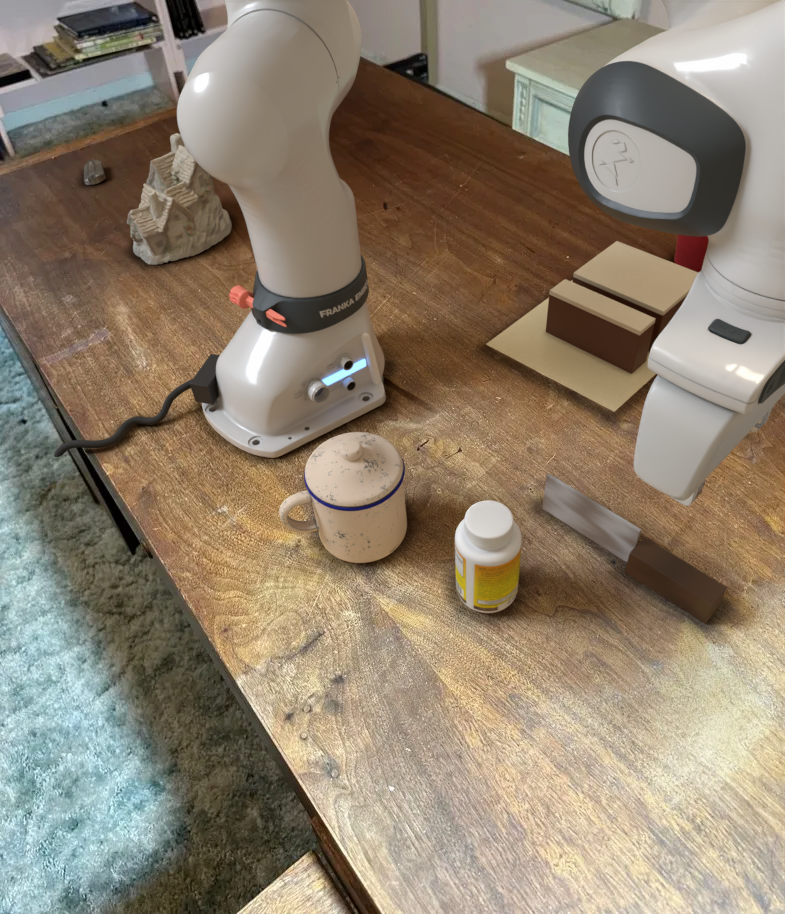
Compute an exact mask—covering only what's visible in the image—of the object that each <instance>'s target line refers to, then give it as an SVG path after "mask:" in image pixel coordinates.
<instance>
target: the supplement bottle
mask: <svg viewBox="0 0 785 914" xmlns="http://www.w3.org/2000/svg"><path fill="white" fill-rule="evenodd" d="M522 535H523V534H522V531H521V529H520V527H519V525H518V524H517V523H516V521H515V520H514V515H513V512H512V511H511V509H510V508H509V507H507V506H506V505H505V504H504V503H502V502H500V501H496V500H489V499H488V500H487V499H486V500H482V501H477V502H475V503H473V504H472V505H470V506H469V507H468V509H467V510H466V512H465V515H464V518H463V519H462V520H461V521H460V522H459V524H458V525H457V527H456V530H455V532H454V563H455V589H456V594H457V596H458V598H459V599H460V601H461V602H462V603H463V604H464V605H465V606H466V607H467V608H469V609H471V610H473V611H475V612H478V613H483V614H494V613H498V612H502V611H503V610H505V609H506V608H508V607H509V606H510V605H512V603H513V602H514V600H515V599H516V597H517V594H518V590H519V579H520V570H521V569H520V568H521V567H520V566H521V556H522V544H523V537H522Z"/></svg>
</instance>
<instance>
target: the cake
mask: <svg viewBox="0 0 785 914" xmlns="http://www.w3.org/2000/svg"><path fill="white" fill-rule="evenodd" d="M697 274H698V272H695V271H693V270H690V269H688V268H685V267H683V266H680V265H677V264H675V262H672V261H669V260H667V259H665V258H662V257H659V256H658V255H654V254H652V253H649V252H646V251H644V250H642V249H639V248H637V247H633V246H631V245H629V244H627V243H624V242H621V241H619V240H615V241H614V243H612V244H610V245H609V246H608V247H606V248H605V249H604V250H602V251H601V252H599V253H598V254H597V255H596V256H594V257H593V258H592V259H590V260H589V261H587V262H586V263H585V264H583V265H582V266H581V267H579V268H578V269H577V270H575V271H574V272H573V274H572V280H573V281H572V280H571V281H572V282H573V283H576V284H578V285H580V286H582V287H585V288H587V289H589V290H592V291H594V292H596V293H598V294H601V295H603V296H605V297H608V298H610V299H612V300H615V301H617V302H619V303H621V304H624V305H626V306H628V307H631V308H633V309H635V310H637V311H640V312H642V313H644V314H647V315H649V316H651V317H653V318H656V319H655V324H654V328H653V333H652V337H651V342H650V346H649V350H648V351H649V352H650V350H651V347H652V345H653V343H654V341H655V340H656V339H657V337H658V336H659V335H660V333H661V332H662V330H663V329H664V328H665V326H666V325H667V324H668V322H669V321H670V320H671V318H672V317H673V316H674V314H675V313H676V311H677V310H678V309H679V307H680V306H681V305H682V303H683V302H684V300H685V298H686V296H687V295H688V293H689V291H690V288H691V286H692V284H693V281H694V279H695V277H696V275H697Z"/></svg>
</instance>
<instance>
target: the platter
mask: <svg viewBox="0 0 785 914" xmlns="http://www.w3.org/2000/svg"><path fill="white" fill-rule="evenodd" d="M570 281H571V282H572V281H573V279H572V280H570ZM548 302H549V297H547V298H546V299H545V300H543V301H542V302H540V303H539V304H538V305H536V306H535V307H534V308H533V309H531V310H530V311H528V312H527V313H526V314H524V315H523V316H521V317H520V318H519V319H518V320H516V321H515V322H513V323H512V324H511V325H509V326H508V327H506V328H505V329H504V330H502V331H501V332H500V333H499V334H497V335H496V336H495V337H493V338H492V339H491V340H489V341H488V342H487V343H485V345H486V346H487V347H490V348H492V349H493V350H495V351H497V352H499V353H501V354H503V355H505V356H506V357H509V358H510V359H512V360H514V361H517V362H518V363H520V364H521V365H524V366H526V367H527V368H529V369H532V370H533V371H535V372H537V373H539V374H541V375H543V376H545V377H547V378H549V379H550V380H553V381H555V382H557V383H558V384H560V385H561V386H564V387H566V388H568V389H570V390H571V391H574V392H575V393H577V394H579V395H580V396H583V397H585V398H586V399H589V400H590V401H593V402H595V404H598V405H600V406H602V407H604V408H606V409H607V410H609V411H612V412H613V413H615V412H616V411H618V410H619V408H621V406H623V405H624V404H625V403H626V402H627V401H628V400H630V398H632V397H633V396H634V395H635V394H636V393H637V392H638V391H639V390H640V389H642V388H643V387H644V386H645V385H646V384H647V383H648V382H649V381H650V380H651V379H653V378H654V377H655V375H657V374H656V373H654V372H653V371H651V370H649V369H648V358H649V354H650V352H649V351H648V355H647V359H646V362H644V363H643V364H642V365H641V366H640V367H639V368H638V369H637V370H635V371H634V372H633V373H632V374H631V373H629V372H627V371H625V370H623V369H621V368H619V367H617V366H614V365H612V364H610V363H608V362H606V361H604V360H602V359H600V358H598V357H596V356H594V355H592V354H590V353H588V352H586V351H584V350H582V349H580V348H578V347H576V346H574V345H571V344H569V343H567V342H565V341H563V340H561V339H559V338H557V337H555V336H553V335H551V334H549V333H547V332H546V323H547V312H548Z"/></svg>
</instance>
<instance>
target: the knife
mask: <svg viewBox="0 0 785 914" xmlns="http://www.w3.org/2000/svg"><path fill="white" fill-rule="evenodd" d="M542 510H543V511H545V512H547V513H548V514H550V515H551V516H553V517H555V518H557V520H560V521H561V522H563V523H564V524H566V525H567V526H569V527H571V528H572V529H574V530H575V531H576V532H578V533H580V534H581V535H583V536H584V537H586V538H588V539H589V540H591V541H592V542H594V543H596V544H597V545H599V546H600V547H601V548H603V549H605V550H606V551H608V552H610V553H611V554H613V555H615V556H616V557H617V558H619V559H620V560H622V561H624V562H626V566H625V569H624V573H626V574H627V575H628V576H630V577H631V578H633V579H635V580H636V581H638V582H639V583H640V584H643V585H644V586H646V588H649V589H650V590H652V591H654V592H655V593H656V594H658V595H660V596H661V597H662V598H664V599H665V600H667V601H669V602H670V603H672V604H673V605H675V606H676V607H678V608H680V609H681V610H683V611H684V612H686V613H688V614H689V615H690V616H692V617H693V618H695V619H697V620H698V621H699V622H702V623H703V624H707V623H708V621H709V620H710V619H711V617H713V615H714V614H715V612H716V611H717V610H718V609H719V608H720V605H721V603H722V602H723V599H724V597H725V594H726V592H727V590H728V586H726V585H725V584H723V583H721V582H719V581H718V580H716V579H715V578H713V577H711V576H710V575H708V574H706V573H705V572H703V571H701V570H700V569H698V568H696V567H695V566H693V564H690V563H689V562H687V561H685V560H683V559H682V558H680V557H679V556H677V555H675V554H674V553H672V552H670V551H669V550H667V549H665V548H664V547H662V546H661V545H659V544H657V543H656V542H654V541H652V540H651V539H650V538H648V537H646V536H644V537H643V538H642V539H641V540H640V537H641V533H642V528H640V527H638V526H637V525H635V524H633V523H632V522H630V521H628V520H627V519H625V518H623V517H622V516H620V515H619V514H618V513H615V512H613V511H612V510H610V509H608V508H607V507H605V506H604V505H602V504H601V503H599V502H597V501H595V500H594V499H592V498H591V497H589V496H587V495H586V494H584V493H583V492H580V491H579V490H577V489H576V488H573V487H572V486H570V485H569V484H567V483H565V482H564V481H562V480H561V479H559V478H557V477H556V476H554V475H552V474H550V473H549V472H548V473H546V474H545V484H544V493H543V499H542Z"/></svg>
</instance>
